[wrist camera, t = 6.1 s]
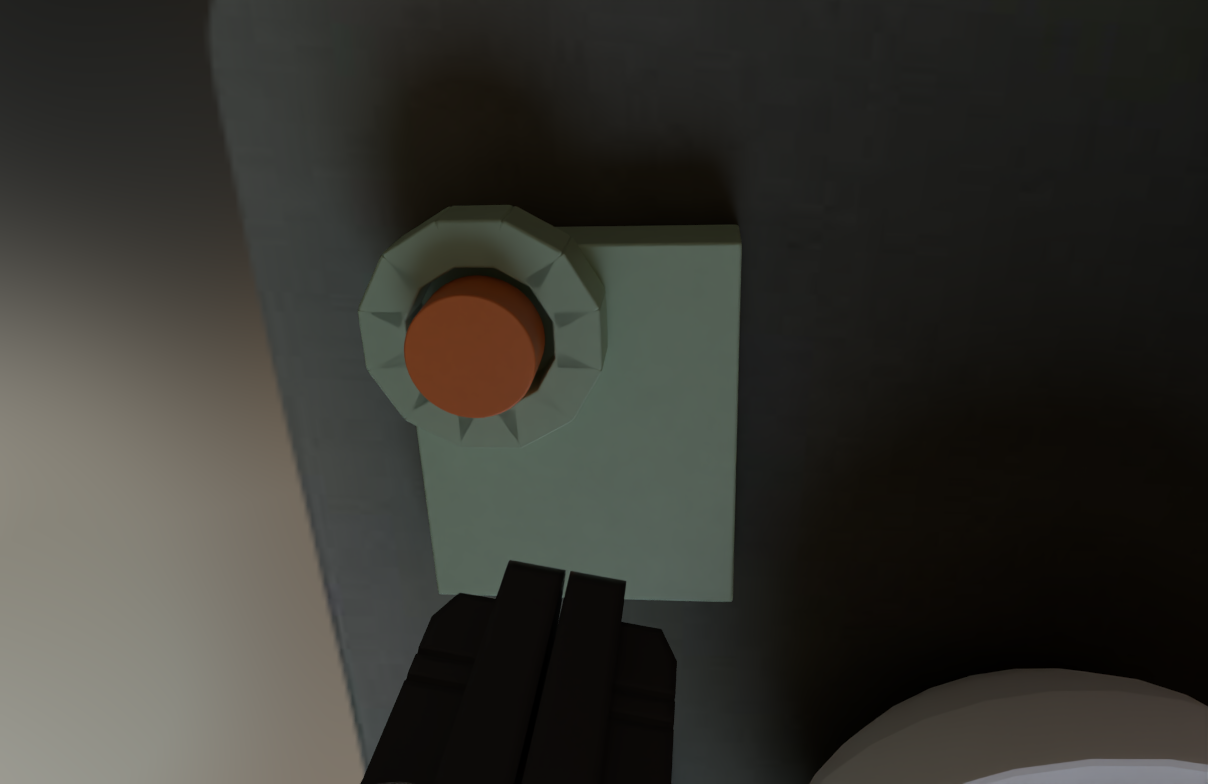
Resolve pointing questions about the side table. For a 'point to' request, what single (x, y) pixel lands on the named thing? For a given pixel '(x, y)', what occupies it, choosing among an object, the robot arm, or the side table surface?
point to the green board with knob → (580, 402)
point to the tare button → (475, 346)
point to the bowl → (1031, 734)
